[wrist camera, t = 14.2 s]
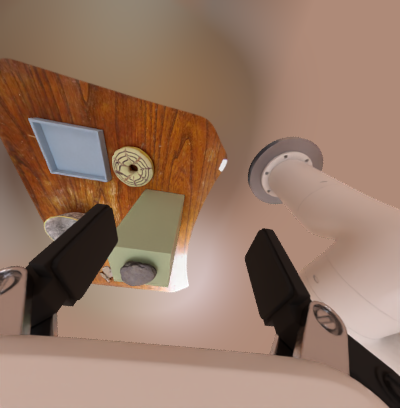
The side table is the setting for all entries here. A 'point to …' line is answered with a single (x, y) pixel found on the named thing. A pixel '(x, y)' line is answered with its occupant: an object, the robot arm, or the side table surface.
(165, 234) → the stand
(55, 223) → the bowl
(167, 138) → the side table surface
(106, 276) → the butterfly
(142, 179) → the decorated donut
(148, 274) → the stone
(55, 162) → the tray
